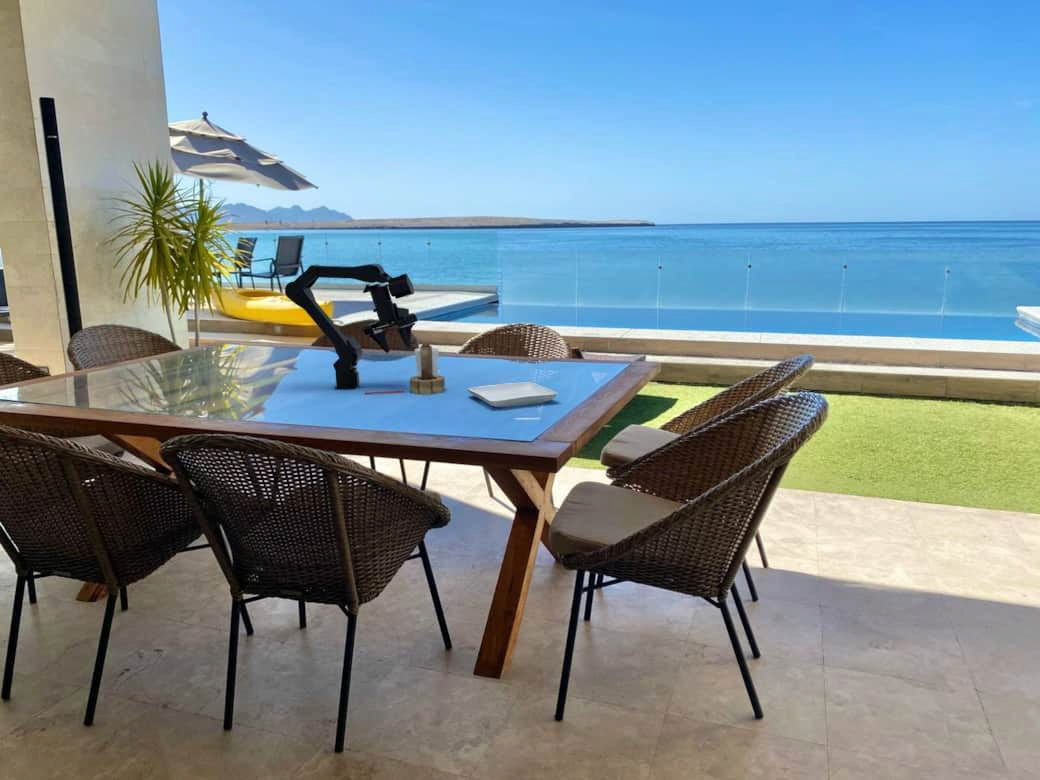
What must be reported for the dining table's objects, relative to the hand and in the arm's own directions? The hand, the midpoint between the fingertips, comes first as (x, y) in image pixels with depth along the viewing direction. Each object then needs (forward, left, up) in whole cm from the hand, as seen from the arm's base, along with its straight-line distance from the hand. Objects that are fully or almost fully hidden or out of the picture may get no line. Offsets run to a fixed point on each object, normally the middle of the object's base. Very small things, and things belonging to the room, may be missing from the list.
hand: (398, 350), depth 245 cm
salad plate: (+37, -19, -13) cm, 43 cm away
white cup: (+7, +15, -12) cm, 20 cm away
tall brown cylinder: (+10, -5, -12) cm, 16 cm away
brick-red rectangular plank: (-3, -8, -12) cm, 15 cm away
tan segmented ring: (+10, -5, -12) cm, 16 cm away
